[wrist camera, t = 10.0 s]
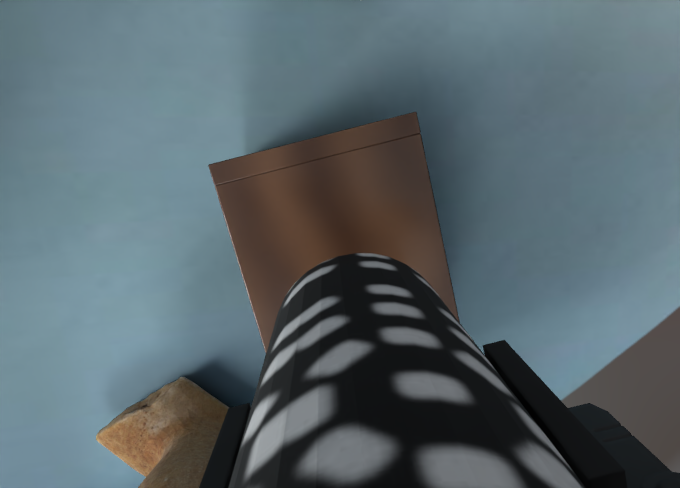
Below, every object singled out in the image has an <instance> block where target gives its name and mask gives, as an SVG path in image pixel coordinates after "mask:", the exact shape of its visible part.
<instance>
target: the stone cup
mask: <svg viewBox="0 0 680 488" xmlns="http://www.w3.org/2000/svg"><path fill="white" fill-rule="evenodd" d="M228 408H229V407H228V406H226V405H225V404H223V403H222V402H220V401H219V400H218V399H216V398H215V397H213V396H212V395H210V394H209V393H207V392H206V391H205V390H203V389H202V388H201V387H199V386H198V385H197V384H195V383H194V382H192V381H190V380H189V379H187V378H185V377H180V378H179V379H178V380H177V381H175V382H172V383H169V384H166V385H165V386H164V387H163V388H161V389H159V390H158V391H156V392H154V393H152V394H150V395H149V396H148V397H147V398H146V399H145V400H143V401H140V402H137V403H136V404H134V405H132V406H130V407H128V408H127V409H126V410H125V411H124V412H122V413H121V414H120V415H118V416H117V417H116V418H114V419H113V420H112V421H111V422H110V423H109V424H108V425H107V426H105V427H104V428H102V429H101V430H100V431H99V432H98V434H97V435H96V440H97V441H98V442H99V443H101V444H102V445H103V446H105V447H106V448H107V449H108V450H110V451H111V452H112V453H113V454H115V455H116V456H117V457H119V458H120V459H121V460H123V461H124V462H125V463H127V464H128V465H129V466H130V467H132V468H133V469H135V470H136V471H137V472H139V473H140V474H142V475H144V476H145V477H146V478H145V479H144V480H143V482H142V483H141V484H140V486H139V487H138V488H199V486H200V483H201V481H202V478H203V475H204V473H205V470H206V467H207V465H208V462H209V459H210V457H211V454H212V451H213V448H214V446H215V443H216V440H217V438H218V435H219V432H220V430H221V427H222V424H223V422H224V419H225V416H226V413H227V411H228Z"/></svg>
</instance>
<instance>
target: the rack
mask: <svg viewBox="0 0 680 488" xmlns="http://www.w3.org/2000/svg"><path fill="white" fill-rule="evenodd" d="M208 166H209V169H210V173H211V176H212V179H213V182H214V185H216V186H215V188H216V192H217V195H218V198H219V202H220V205H221V208H222V211H223V215H224V218H225V221H226V224H227V228H228V231H229V234H230V238H231V241H232V244H233V247H234V251H235V254H236V257H237V260H238V264H239V267H240V270H241V273H242V277H243V280H244V283H245V287H246V290H247V293H248V296H249V300H250V303H251V306H252V309H253V313H254V316H255V319H256V323H257V326H258V329H259V332H260V336H261V339H262V342H263V345H264V349H265V352H266V353H267V350H268V346H269V342H270V339H271V335H272V332H273V328H274V325H275V321H276V318H277V314H278V311H279V309H280V307H281V304H282V302H283V300H284V298H285V296H286V295H287V293H288V292H289V290H290V289H291V288H292V286H293V285H294V283H295V282H296V281H297V280H299V279H300V278H301V277H302V276H303V275H304V274H305V273H306V272H307V271H309V270H310V269H312V268H314V267H315V266H317V265H318V264H320V263H322V262H324V261H327V260H329V259H332V258H335V257H337V256H342V255H348V254H354V253H373V254H378V255H382V256H387V257H391V258H393V259H396V260H398V261H400V262H402V263H405V264H407V265H408V266H409V267H411V268H412V269H414V270H415V271H417V272H418V273H420V274H421V276H422V277H423V278H424V279H425V280H426V281H427V282H428V283H429V284H430V285H431V286H432V288H433V289H434V290H435V291H436V293H437V294H438V295H439V297H440V298H441V299H442V301H443V302H444V303H445V305H446V306H447V307H448V308H449V310H450V311H451V312H452V314H453V315H454V316H455V318H456V319H457V320H458V321H459V317H458V312H457V307H456V302H455V297H454V293H453V288H452V283H451V278H450V273H449V268H448V264H447V259H446V254H445V249H444V244H443V239H442V234H441V230H440V225H439V220H438V215H437V210H436V205H435V201H434V196H433V191H432V186H431V181H430V176H429V171H428V167H427V162H426V157H425V152H424V147H423V142H422V138H421V134H420V127H419V123H418V118H417V113H416V112H412V113H409V114H405V115H401V116H397V117H393V118H389V119H385V120H381V121H377V122H373V123H369V124H366V125H362V126H358V127H354V128H350V129H346V130H342V131H338V132H334V133H330V134H326V135H323V136H319V137H315V138H311V139H307V140H303V141H299V142H295V143H291V144H287V145H283V146H280V147H276V148H272V149H268V150H264V151H260V152H256V153H252V154H248V155H244V156H240V157H237V158H233V159H229V160H225V161H221V162H217V163H213V164H209V165H208ZM459 323H460V322H459Z"/></svg>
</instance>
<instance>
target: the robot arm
mask: <svg viewBox="0 0 680 488" xmlns="http://www.w3.org/2000/svg"><path fill="white" fill-rule="evenodd" d="M483 348H484V353H485V357H486V358H487V359H488V361H489V362H490V363H491V365H492V366H493V367H494V369H495V370H496V371H497V372H498V374H499V375H500V376H501V378H502V379H503V380H504V382H505V383H506V384H507V385H508V387H509V388H510V389H511V391H512V392H513V393H514V395H515V396H516V397H517V399H518V400H519V401H520V402H521V404H522V405H523V406H524V408H525V409H526V410H527V412H528V413H529V414H530V416H531V417H532V418H533V419H534V421H535V422H536V423H537V425H538V426H539V427H540V429H541V430H542V431H543V432H544V434H545V435H546V436H547V438H548V439H549V440H550V442H551V443H552V444H553V446H554V447H555V448H556V449H557V451H558V452H559V453H560V455H561V456H562V457H563V459H564V460H565V461H566V463H567V464H568V465H569V466H570V468H571V469H572V470H573V472H574V473H575V474H576V476H577V477H578V478H579V479H580V481H581V482H582V483H583V485H584V486H585V487H586V488H680V473H676V472H671V471H670V470H669V469H668V468H667V467H666V466H665V465H664V464H663V463H662V462H661V461H660V460H659V459H658V458H657V457H655V456H654V455H653V454H652V453H651V452H650V451H649V450H648V449H647V448H646V447H645V446H644V445H643V444H642V443H641V442H639V441H638V440H637V439H636V438H635V437H634V436H632V435H631V433H630V432H629V431H628V430H627V429H626V428H625V427H623V426H621V424H620V423H619V422H618V421H617V420H616V419H615V418H614V417H613V416H612V415H611V414H609V412H608V411H605V410H603V409H601V408H599V407H597V406H595V405H593V404H590V403H588V404H583V405H580V406H576V407H571V408H567V407H566V406H565V405H564V404H563V403H562V402H561V401H560V400H559V398H558V397H557V396H556V395H555V394H554V393H553V392H552V391H551V390H550V389H549V388H548V387H547V385H546V384H545V383H544V382H543V381H542V380H541V379H540V378H539V377H538V376H537V375H536V374H535V373H534V371H533V370H532V369H531V368H530V367H529V366H528V365H527V364H526V363H525V362H524V361H523V360H522V358H521V357H520V356H519V355H518V354H517V353H516V352H515V351H514V350H513V349H512V348H511V347H510V346H509V344H508V343H507V342H506V341H505V340H502V341H498V342H494V343H490V344H486V345H483ZM250 410H251V406H250V403H247V404H243V405H239V406H235V407H231V408H228V411H227V413H226V416H225V419H224V422H223V424H222V427H221V430H220V432H219V435H218V438H217V440H216V443H215V446H214V448H213V451H212V454H211V457H210V459H209V462H208V465H207V467H206V470H205V473H204V475H203V478H202V481H201V483H200V486H199V488H229V484H230V480H231V477H232V473H233V470H234V466H235V463H236V459H237V456H238V452H239V449H240V445H241V442H242V438H243V434H244V431H245V427H246V424H247V420H248V417H249V413H250Z"/></svg>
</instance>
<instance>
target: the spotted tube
mask: <svg viewBox="0 0 680 488" xmlns="http://www.w3.org/2000/svg"><path fill="white" fill-rule="evenodd" d="M229 488H586V487H585V486H584V485H583V483H582V482H581V481H580V479H579V478H578V477H577V476H576V474H575V473H574V472H573V470H572V469H571V468H570V466H569V465H568V464H567V463H566V461H565V460H564V459H563V457H562V456H561V455H560V453H559V452H558V451H557V449H556V448H555V447H554V446H553V444H552V443H551V442H550V440H549V439H548V438H547V436H546V435H545V434H544V432H543V431H542V430H541V429H540V427H539V426H538V425H537V423H536V422H535V421H534V419H533V418H532V417H531V416H530V414H529V413H528V412H527V410H526V409H525V408H524V406H523V405H522V404H521V402H520V401H519V400H518V399H517V397H516V396H515V395H514V393H513V392H512V391H511V389H510V388H509V387H508V385H507V384H506V383H505V382H504V380H503V379H502V378H501V376H500V375H499V374H498V372H497V371H496V370H495V369H494V367H493V366H492V365H491V363H490V362H489V361H488V359H487V358H486V357H485V355H484V354H483V353H482V352H481V350H480V349H479V348H478V346H477V345H476V344H475V342H474V341H473V340H472V338H471V337H470V336H469V335H468V333H467V332H466V331H465V329H464V328H463V327H462V325H461V324H460V323H459V321H458V320H457V319H456V318H455V316H454V315H453V314H452V312H451V311H450V310H449V308H448V307H447V306H446V305H445V303H444V302H443V301H442V299H441V298H440V297H439V295H438V294H437V293H436V291H435V290H434V289H433V288H432V286H431V285H430V284H429V283H428V282H427V281H426V280H425V279H424V278H423V277H422V276H421V274H420V273H418V272H417V271H415V270H414V269H412V268H411V267H409V266H408V265H407V264H405V263H402V262H400V261H398V260H396V259H393V258H391V257H387V256H382V255H378V254H373V253H354V254H348V255H342V256H337V257H335V258H332V259H329V260H327V261H324V262H322V263H320V264H318V265H317V266H315V267H314V268H312V269H310V270H309V271H307V272H306V273H305V274H304V275H303V276H302V277H301V278H300V279H299V280H297V281H296V282H295V283H294V285H293V286H292V288H291V289H290V290H289V292H288V293H287V295H286V296H285V298H284V300H283V302H282V304H281V307H280V309H279V311H278V314H277V318H276V321H275V325H274V328H273V332H272V335H271V339H270V342H269V346H268V350H267V353H266V357H265V360H264V364H263V367H262V371H261V374H260V378H259V381H258V385H257V388H256V392H255V396H254V399H253V403H252V406H251V410H250V413H249V417H248V420H247V424H246V427H245V431H244V434H243V438H242V442H241V445H240V449H239V452H238V456H237V459H236V463H235V466H234V470H233V473H232V477H231V480H230V484H229Z"/></svg>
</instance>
